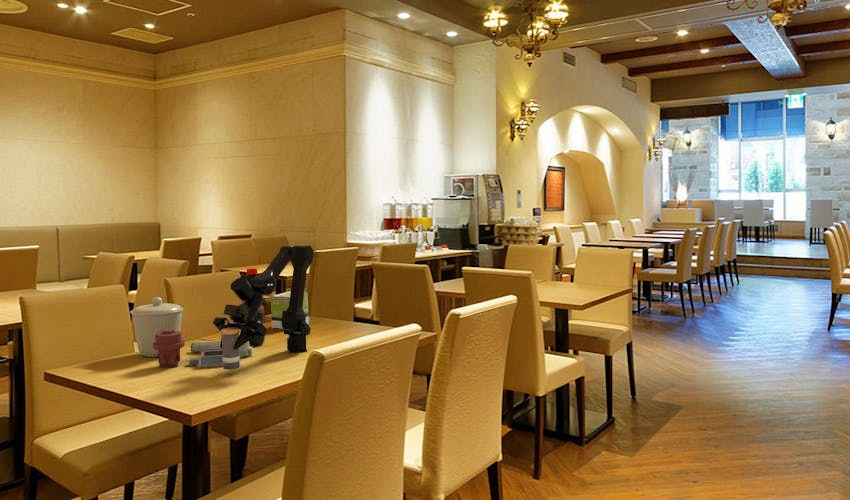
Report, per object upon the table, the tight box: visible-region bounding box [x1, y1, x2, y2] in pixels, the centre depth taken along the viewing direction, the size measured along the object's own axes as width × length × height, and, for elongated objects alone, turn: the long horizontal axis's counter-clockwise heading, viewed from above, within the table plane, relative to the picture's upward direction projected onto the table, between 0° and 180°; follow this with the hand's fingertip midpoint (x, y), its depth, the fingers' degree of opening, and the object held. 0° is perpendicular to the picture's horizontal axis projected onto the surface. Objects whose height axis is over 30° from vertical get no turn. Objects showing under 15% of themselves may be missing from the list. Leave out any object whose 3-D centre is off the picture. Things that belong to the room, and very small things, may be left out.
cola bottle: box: [241, 267, 266, 347], centre depth 257 cm, size 8×8×30 cm
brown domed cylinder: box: [220, 328, 241, 371], centre depth 215 cm, size 6×6×13 cm
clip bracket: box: [188, 350, 223, 369], centre depth 229 cm, size 14×10×4 cm
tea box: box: [270, 290, 310, 330], centre depth 295 cm, size 15×10×15 cm
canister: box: [130, 296, 184, 358], centre depth 243 cm, size 18×18×21 cm
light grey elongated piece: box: [190, 340, 254, 358], centre depth 243 cm, size 5×7×25 cm
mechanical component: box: [153, 329, 186, 369], centre depth 225 cm, size 12×10×10 cm
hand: (227, 348), depth 214 cm, fingers closed on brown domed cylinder, 5 cm apart
